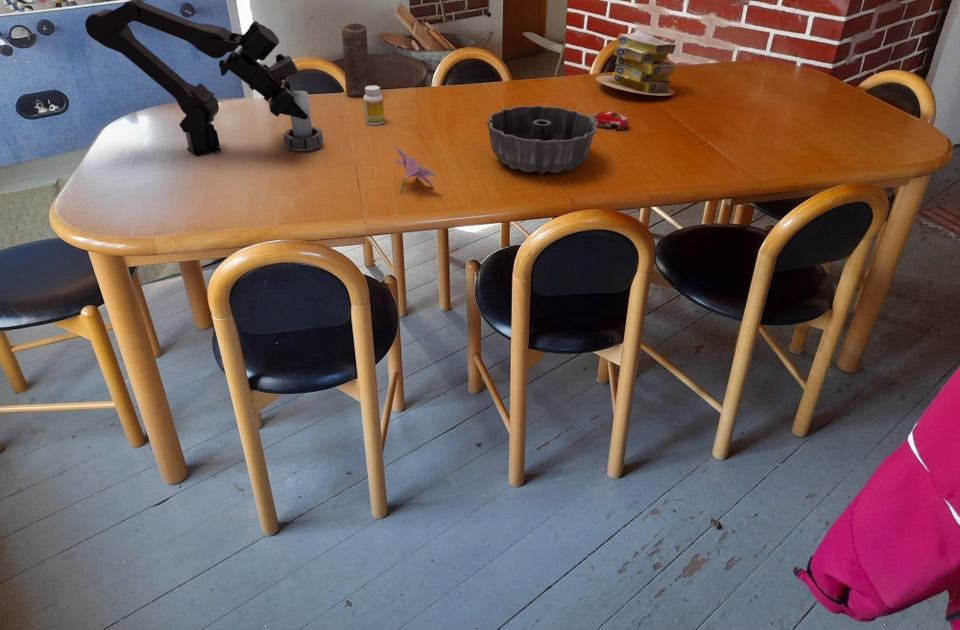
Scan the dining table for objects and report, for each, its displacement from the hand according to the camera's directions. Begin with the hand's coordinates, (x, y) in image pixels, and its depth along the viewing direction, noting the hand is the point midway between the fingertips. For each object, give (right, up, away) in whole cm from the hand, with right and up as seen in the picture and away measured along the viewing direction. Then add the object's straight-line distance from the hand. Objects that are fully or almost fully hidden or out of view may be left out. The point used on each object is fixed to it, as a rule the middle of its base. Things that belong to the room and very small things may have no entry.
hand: (305, 114), depth 174 cm
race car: (+78, +2, +20) cm, 80 cm away
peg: (-1, -6, +3) cm, 7 cm away
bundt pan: (+58, -12, -2) cm, 60 cm away
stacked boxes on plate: (+92, +21, +46) cm, 105 cm away
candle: (+6, +17, +40) cm, 44 cm away
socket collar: (-1, -7, +4) cm, 8 cm away
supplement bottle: (+14, +3, +20) cm, 25 cm away
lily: (+29, -21, -16) cm, 39 cm away
